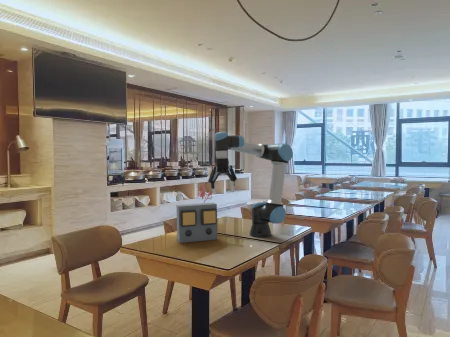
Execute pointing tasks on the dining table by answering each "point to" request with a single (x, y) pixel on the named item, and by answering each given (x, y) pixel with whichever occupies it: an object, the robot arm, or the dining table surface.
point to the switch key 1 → (188, 218)
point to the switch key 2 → (209, 216)
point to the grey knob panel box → (196, 223)
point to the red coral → (202, 193)
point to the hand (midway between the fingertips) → (223, 192)
